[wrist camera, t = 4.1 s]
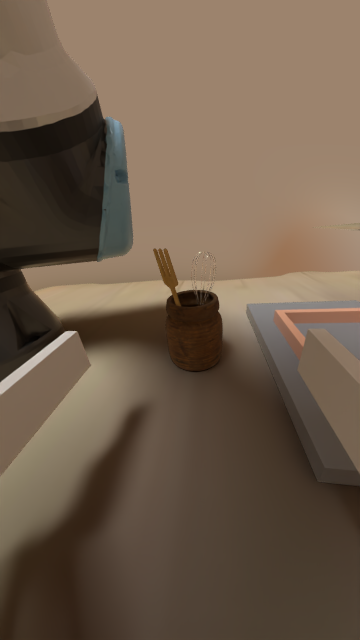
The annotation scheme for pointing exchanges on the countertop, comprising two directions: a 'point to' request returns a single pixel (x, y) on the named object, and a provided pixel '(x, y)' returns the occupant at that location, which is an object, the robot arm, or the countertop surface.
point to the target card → (283, 359)
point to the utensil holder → (191, 322)
